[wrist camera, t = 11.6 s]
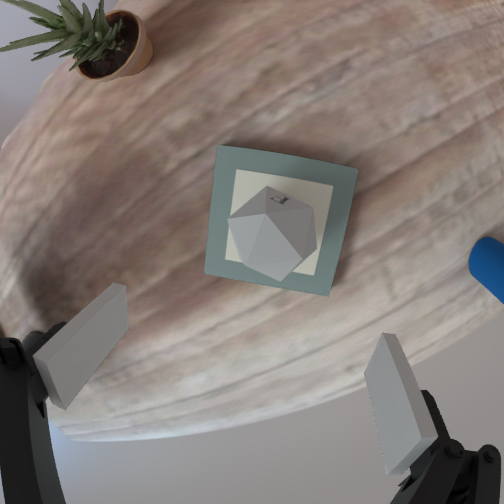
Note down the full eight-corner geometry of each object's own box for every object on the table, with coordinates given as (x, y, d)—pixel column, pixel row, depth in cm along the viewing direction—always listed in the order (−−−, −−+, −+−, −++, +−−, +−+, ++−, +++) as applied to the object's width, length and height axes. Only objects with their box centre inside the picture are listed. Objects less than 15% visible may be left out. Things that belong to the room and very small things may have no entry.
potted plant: (145, 97, 32) (-14, 69, 9) (96, 79, 32) (-48, 59, 9) (180, 32, 29) (57, -59, 6) (127, 19, 28) (3, -41, 5)
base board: (208, 267, 39) (203, 273, 37) (221, 145, 34) (217, 144, 32) (327, 289, 38) (328, 296, 36) (354, 167, 32) (358, 169, 30)
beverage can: (459, 269, 34) (502, 310, 23) (476, 229, 32) (527, 259, 21) (485, 281, 34) (527, 320, 23) (502, 243, 32) (549, 274, 21)
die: (329, 234, 34) (333, 193, 25) (291, 300, 33) (281, 282, 23) (268, 204, 37) (252, 158, 28) (230, 264, 36) (199, 234, 26)
